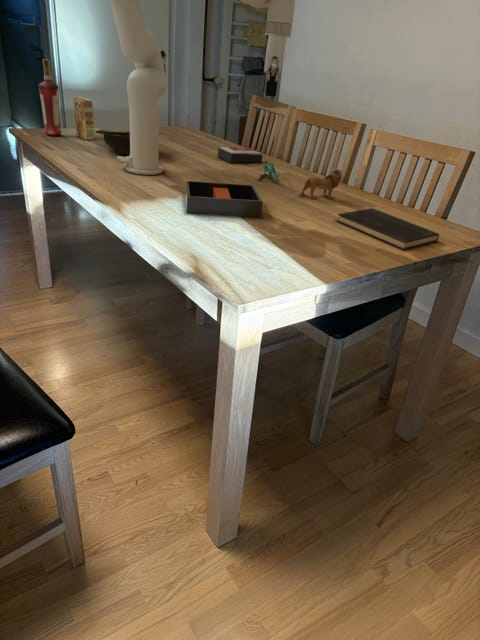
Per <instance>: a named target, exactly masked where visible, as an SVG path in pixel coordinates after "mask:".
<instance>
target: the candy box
mask: <svg viewBox="0 0 480 640" xmlns="http://www.w3.org/2000/svg"><path fill="white" fill-rule="evenodd" d="M72 99H73V111H74V121H75V131H76V132H75V135H76V137H79V138H81V139H84V140H86V141H88V140H89V141H90V140H95V139H96V137H95V123H94V121H95V120H94V108H93V106H94V105H93V100H92V99H90V98H86V97H83V96H73V98H72Z"/></svg>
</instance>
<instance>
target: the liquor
mask: <svg viewBox="0 0 480 640" xmlns="http://www.w3.org/2000/svg"><path fill="white" fill-rule="evenodd" d="M42 66H43V75H44V76H43V81H42V82H40V83H39V84H38V88H39V90H38V91H39V97H40V103H41V109H42V116H43V124H44V131H43V132H44V134H46V135H47V136H49V137H59V136H60V135H61V134H62V130H61V120H60V94H59V93H60V91H59V85H58V84H56V83H55V82H54V81H53V78H52V72H51V60H50V59H46V58H43V59H42Z"/></svg>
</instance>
